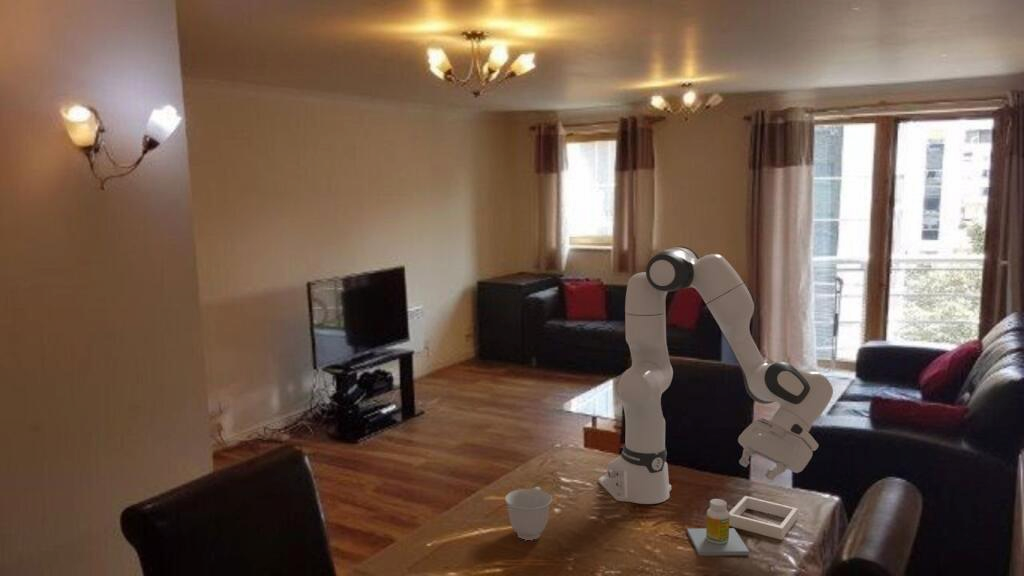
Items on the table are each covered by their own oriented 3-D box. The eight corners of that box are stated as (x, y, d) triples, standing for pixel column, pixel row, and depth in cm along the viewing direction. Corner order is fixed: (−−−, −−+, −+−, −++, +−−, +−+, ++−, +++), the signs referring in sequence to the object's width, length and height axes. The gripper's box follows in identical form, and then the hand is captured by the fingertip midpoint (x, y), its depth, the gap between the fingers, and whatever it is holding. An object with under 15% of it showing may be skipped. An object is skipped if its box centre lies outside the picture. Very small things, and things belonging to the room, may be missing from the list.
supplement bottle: (721, 546, 180) (722, 508, 179) (701, 539, 184) (702, 502, 183) (732, 539, 184) (733, 501, 183) (713, 532, 188) (714, 495, 186)
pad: (687, 532, 190) (687, 528, 190) (733, 531, 190) (734, 528, 190) (699, 555, 178) (699, 551, 178) (749, 555, 178) (749, 551, 178)
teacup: (560, 523, 195) (561, 487, 194) (544, 550, 181) (544, 511, 180) (517, 517, 199) (517, 481, 198) (498, 542, 185) (497, 504, 184)
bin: (726, 525, 194) (727, 514, 193) (744, 506, 205) (745, 495, 205) (781, 539, 186) (782, 528, 185) (797, 519, 197) (797, 508, 197)
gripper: (752, 409, 197) (721, 450, 194) (811, 433, 178) (777, 478, 176) (764, 423, 199) (734, 464, 197) (824, 448, 180) (791, 493, 178)
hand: (754, 471), depth 186 cm, fingers open, 8 cm apart
